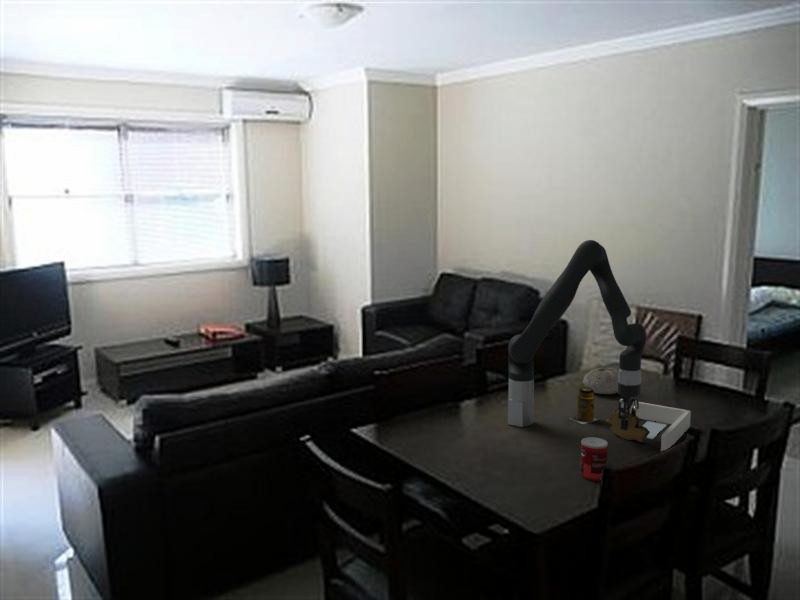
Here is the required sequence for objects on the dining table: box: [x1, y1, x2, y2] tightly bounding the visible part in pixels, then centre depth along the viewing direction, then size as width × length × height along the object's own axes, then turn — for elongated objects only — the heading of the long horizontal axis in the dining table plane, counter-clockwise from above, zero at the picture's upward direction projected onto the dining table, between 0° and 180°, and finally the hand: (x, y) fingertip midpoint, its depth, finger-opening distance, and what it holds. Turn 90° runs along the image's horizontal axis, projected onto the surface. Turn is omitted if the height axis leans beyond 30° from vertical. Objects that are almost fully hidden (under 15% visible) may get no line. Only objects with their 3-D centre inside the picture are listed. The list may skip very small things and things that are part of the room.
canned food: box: [580, 436, 609, 482], centre depth 210 cm, size 8×8×11 cm
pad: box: [642, 420, 668, 440], centre depth 248 cm, size 17×7×1 cm, turn 143°
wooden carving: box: [605, 409, 650, 443], centre depth 240 cm, size 16×5×10 cm, turn 39°
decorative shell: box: [582, 367, 619, 395], centre depth 293 cm, size 18×18×10 cm
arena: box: [619, 398, 692, 452], centre depth 246 cm, size 30×26×6 cm
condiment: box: [568, 386, 599, 425], centre depth 259 cm, size 7×8×12 cm
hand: (628, 426), depth 240 cm, fingers open, 8 cm apart
